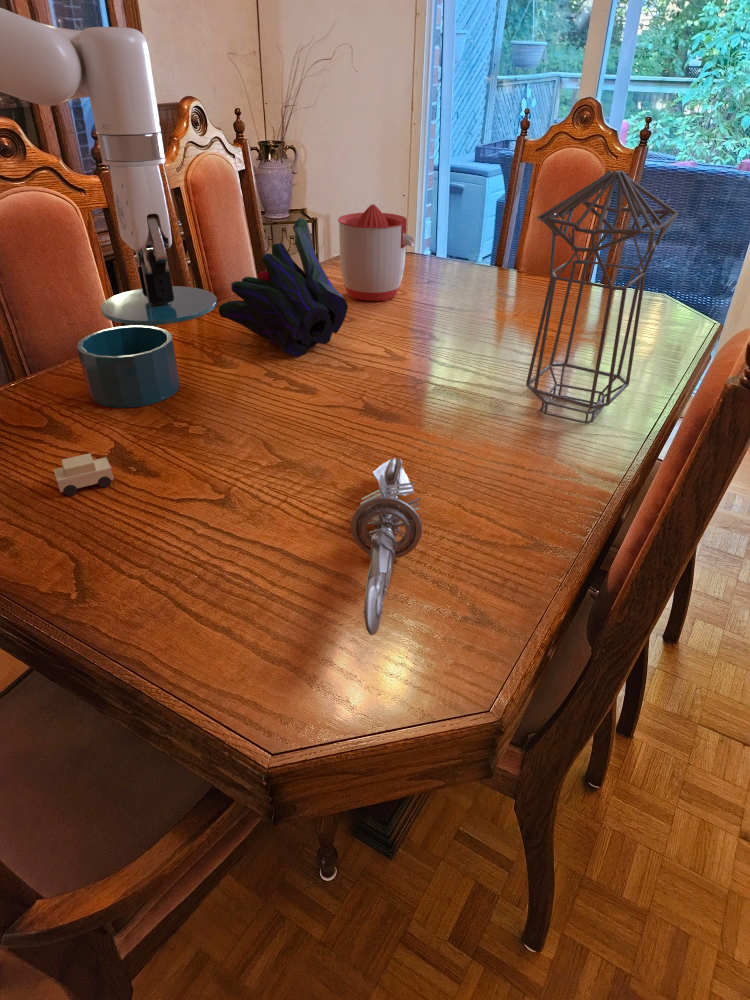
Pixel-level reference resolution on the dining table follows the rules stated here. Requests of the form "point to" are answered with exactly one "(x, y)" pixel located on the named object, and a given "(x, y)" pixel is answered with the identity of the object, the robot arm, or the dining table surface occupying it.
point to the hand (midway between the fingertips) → (158, 297)
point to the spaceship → (385, 534)
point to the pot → (129, 366)
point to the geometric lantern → (549, 219)
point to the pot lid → (158, 306)
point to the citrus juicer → (373, 253)
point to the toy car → (82, 473)
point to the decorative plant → (289, 299)
